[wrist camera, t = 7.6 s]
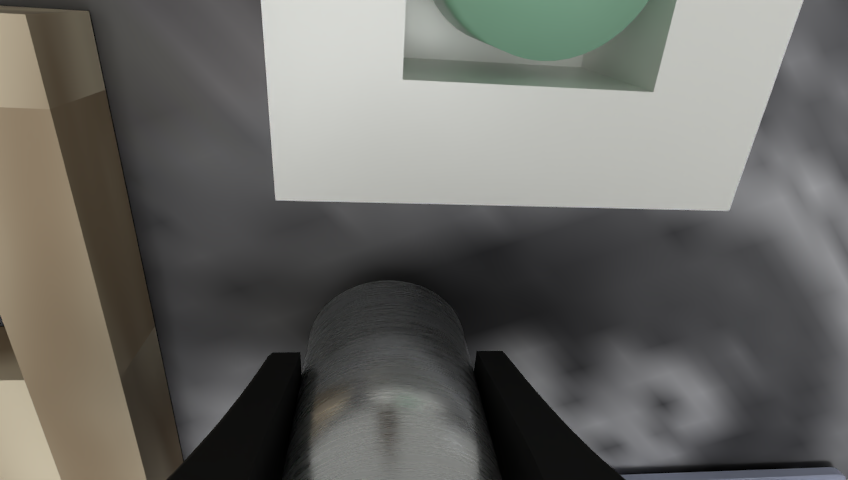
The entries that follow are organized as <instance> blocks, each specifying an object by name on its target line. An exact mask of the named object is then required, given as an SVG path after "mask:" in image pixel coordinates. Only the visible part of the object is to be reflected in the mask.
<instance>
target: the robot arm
mask: <svg viewBox="0 0 848 480" xmlns="http://www.w3.org/2000/svg"><path fill="white" fill-rule="evenodd" d="M474 374H475V378H476V382H477V386H478V390H479V393H480V397H481V401H482V405H483V409H484V412H485V416H486V420H487V424H488V428H489V431H490V435H491V439H492V443H493V447H494V450H495V454H496V458H497V462H498V466H499V469H500V473H501V477H502V480H846V477H845V476H844V475H843V474H842V473H841V472H840V471H839V470H838V469H837V468H833V467H817V468H790V469H763V470H736V471H709V472H682V473H655V474H628V475H620V474H618V473H617V472H616V471H615V470H614V469H613V468H611V467H610V466H609V465H608V464H607V463H606V462H604V461H603V460H602V459H601V458H600V457H599V456H598V455H597V454H596V453H594V452H593V451H592V450H591V449H590V448H589V447H588V446H587V445H586V444H585V443H584V442H583V441H582V440H581V439H580V438H579V437H578V436H577V435H576V434H575V433H574V432H573V431H572V430H571V429H570V428H569V427H568V426H567V425H566V424H565V423H564V422H563V421H562V420H561V419H560V417H559V416H558V415H557V414H556V413H555V412H554V411H553V410H552V409H551V408H550V406H549V405H548V404H547V403H546V402H545V401H544V400H543V399H542V398H541V396H540V395H539V394H538V393H537V392H536V391H535V389H534V388H533V387H532V386H531V385H530V384H529V382H528V381H527V380H526V379H525V378H524V376H523V375H522V374H521V373H520V371H519V370H518V369H517V368H516V367H515V365H514V364H513V363H512V362H511V360H510V359H509V358H508V357H507V356H506V354H505V353H504V352H503V351H477V353H476V361H475V368H474ZM301 378H302V375H301V358H300V352H288V353H272V354H271V355H269V356H268V357H267V359H266V360H265V362H264V363H263V365H262V366H261V368H260V369H259V371H258V372H257V374H256V375H255V376H254V378H253V379H252V381H251V382H250V383H249V385H248V386H247V387H246V389H245V390H244V391H243V393H242V394H241V395H240V397H239V398H238V399H237V400H236V402H235V403H234V404H233V405H232V407H231V408H230V409H229V410H228V412H227V413H226V414H225V415H224V417H223V418H222V419H221V420H220V422H219V423H218V424H217V425H216V426H215V428H214V429H213V430H212V431H211V432H210V433H209V434H208V435H207V437H206V438H205V439H204V440H203V441H202V442H201V443H200V444H199V446H198V447H197V448H196V449H195V450H194V451H193V452H192V453H191V455H190V456H189V457H188V458H187V459H186V460H185V461H184V462H183V463H182V464H181V465H180V466H179V467H178V468H177V469H176V470H175V471H174V472H173V473H172V474H171V475H170V476H169V477H168V478H167V479H166V480H282V476H283V471H284V466H285V461H286V455H287V450H288V445H289V440H290V435H291V430H292V424H293V419H294V414H295V409H296V404H297V399H298V393H299V388H300V383H301Z"/></svg>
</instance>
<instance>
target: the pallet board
mask: <svg viewBox="0 0 848 480" xmlns="http://www.w3.org/2000/svg"><path fill="white" fill-rule="evenodd" d="M0 315H1V318H2V321H3V323H4V326H5V327H0V480H166V479H167V478H168V477H169V476H170V475H171V474H172V473H173V472H174V471H175V470H176V469H177V468H178V467H179V466H180V465H181V464H182V463H183V457H182V453H181V448H180V443H179V438H178V434H177V429H176V424H175V419H174V415H173V410H172V405H171V400H170V396H169V391H168V386H167V381H166V376H165V372H164V367H163V362H162V357H161V353H160V348H159V343H158V338H157V334H156V329H155V324H154V319H153V314H152V310H151V305H150V300H149V295H148V291H147V286H146V281H145V276H144V272H143V267H142V262H141V257H140V252H139V248H138V243H137V238H136V233H135V229H134V224H133V219H132V214H131V210H130V205H129V200H128V195H127V191H126V186H125V181H124V176H123V171H122V167H121V162H120V157H119V152H118V148H117V143H116V138H115V133H114V129H113V124H112V119H111V114H110V109H109V105H108V100H107V95H106V90H105V86H104V81H103V76H102V71H101V67H100V62H99V57H98V52H97V47H96V43H95V38H94V33H93V28H92V24H91V19H90V14H89V11H80V10H64V9H47V8H31V7H14V6H0Z"/></svg>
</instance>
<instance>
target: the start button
mask: <svg viewBox="0 0 848 480" xmlns="http://www.w3.org/2000/svg"><path fill="white" fill-rule="evenodd" d="M433 1H434V3H435V5H436V6H437V8H438V9H439V10H440V12H441V13H442V15H443V16H444V17H445V18H446V19H447V20H448V21H449V22H450V23H451V24H452V25H453V26H454V27H456V28H457V29H458V30H459V31H461V32H463V33H464V34H466V35H468V36H470V37H472V38H474V39H477V40H479V41H481V42H484V43H486V44H488V45H491V46H493V47H495V48H498V49H500V50H502V51H505V52H507V53H509V54H512V55H514V56H518V57H521V58H525V59H530V60H537V61H557V60H563V59H569V58H573V57H576V56H579V55H583V54H585V53H587V52H590V51H592V50H594V49H596V48H598V47H600V46H601V45H603V44H605V43H606V42H608V41H610V40H611V39H612V38H614V37H615V36H616V35H618V34H619V33H620V32H621V31H623V30H624V29H625V28H626V27H627V26H628V25H629V24H630V23H631V22H632V21H633V20H634V19H635V18H636V17H637V15H638V14H639V13H640V12H641V11H642V9H643V8H644V7H645V5H646V4H647V2H648V1H649V0H433Z"/></svg>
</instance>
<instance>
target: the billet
mask: <svg viewBox="0 0 848 480" xmlns="http://www.w3.org/2000/svg"><path fill="white" fill-rule="evenodd" d="M282 480H502V477H501V473H500V469H499V466H498V462H497V458H496V454H495V450H494V447H493V443H492V439H491V435H490V431H489V428H488V424H487V420H486V416H485V412H484V409H483V405H482V401H481V397H480V393H479V390H478V386H477V382H476V378H475V374H474V371H473V367H472V363H471V359H470V355H469V352H468V348H467V344H466V340H465V336H464V333H463V329H462V326H461V322H460V320H459V318H458V316H457V314H456V313H455V311H454V310H453V308H452V307H451V306H450V305H449V304H448V303H447V302H446V301H445V300H444V299H443V298H442V297H440V296H439V295H438V294H436V293H434V292H433V291H431V290H429V289H427V288H425V287H422V286H420V285H417V284H413V283H409V282H404V281H394V280H384V281H374V282H368V283H365V284H361V285H358V286H355V287H353V288H350V289H348V290H346V291H344V292H343V293H341V294H339V295H338V296H336V297H335V298H334V299H332V300H331V301H330V302H329V303H328V304H327V305H326V306H325V307H324V308H323V309H322V310H321V312H320V313H319V314H318V316H317V318H316V320H315V321H314V323H313V326H312V329H311V332H310V337H309V342H308V347H307V352H306V357H305V362H304V368H303V373H302V378H301V383H300V388H299V393H298V399H297V404H296V409H295V414H294V419H293V424H292V430H291V435H290V440H289V445H288V450H287V455H286V461H285V466H284V471H283V476H282Z"/></svg>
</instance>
